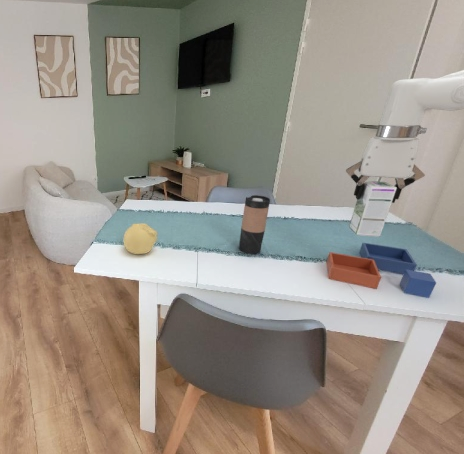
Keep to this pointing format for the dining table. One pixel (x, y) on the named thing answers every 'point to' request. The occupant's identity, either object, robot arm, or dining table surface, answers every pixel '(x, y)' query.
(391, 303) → the dining table surface
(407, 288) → the blue block
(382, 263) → the blue bin
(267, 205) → the travel mug
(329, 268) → the terracotta bin
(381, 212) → the syrup box
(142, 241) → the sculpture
